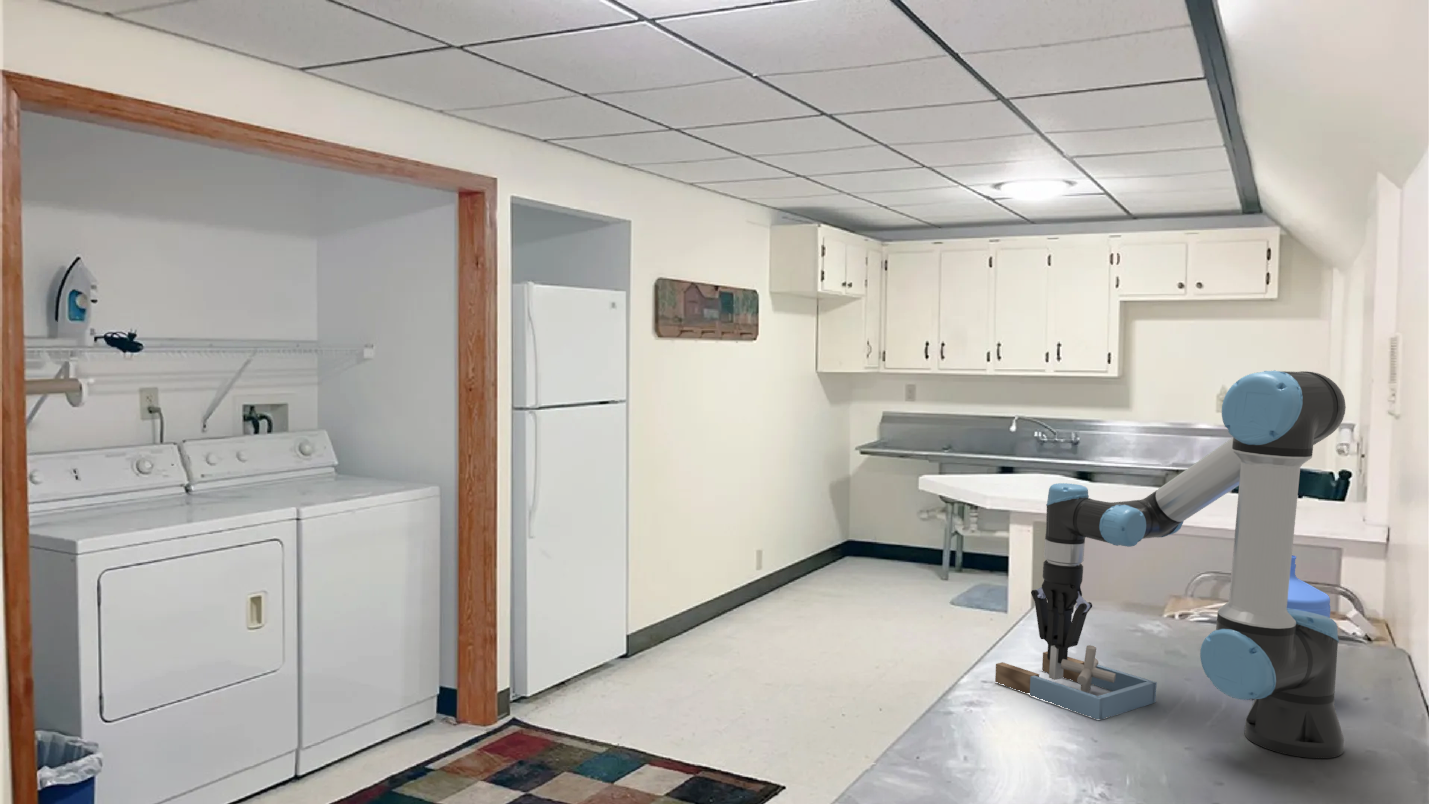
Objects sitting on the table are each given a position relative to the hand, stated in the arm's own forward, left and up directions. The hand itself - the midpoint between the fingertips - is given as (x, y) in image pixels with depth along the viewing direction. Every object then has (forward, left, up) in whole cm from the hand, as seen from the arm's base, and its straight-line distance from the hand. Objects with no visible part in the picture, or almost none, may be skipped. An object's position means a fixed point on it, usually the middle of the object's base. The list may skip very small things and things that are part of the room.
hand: (1055, 677), depth 208 cm
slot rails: (+4, 0, -2) cm, 4 cm away
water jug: (-27, -35, -2) cm, 44 cm away
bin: (-8, 0, -2) cm, 8 cm away
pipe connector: (-6, -1, -2) cm, 7 cm away
